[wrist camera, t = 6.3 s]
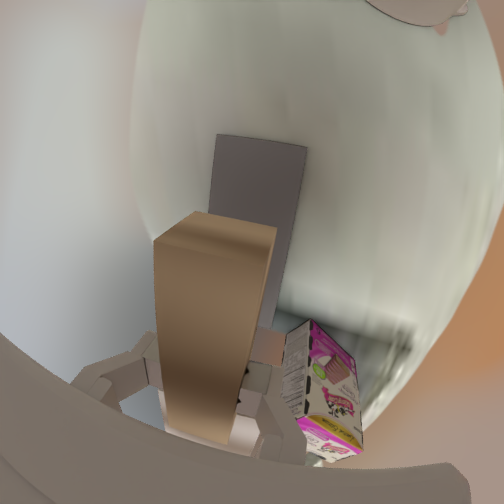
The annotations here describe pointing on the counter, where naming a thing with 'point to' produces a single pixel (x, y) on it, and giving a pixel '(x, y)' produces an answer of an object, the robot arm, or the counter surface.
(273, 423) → the robot arm
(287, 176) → the mat
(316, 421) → the candy bar box
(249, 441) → the wooden handled scraper
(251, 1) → the counter surface
